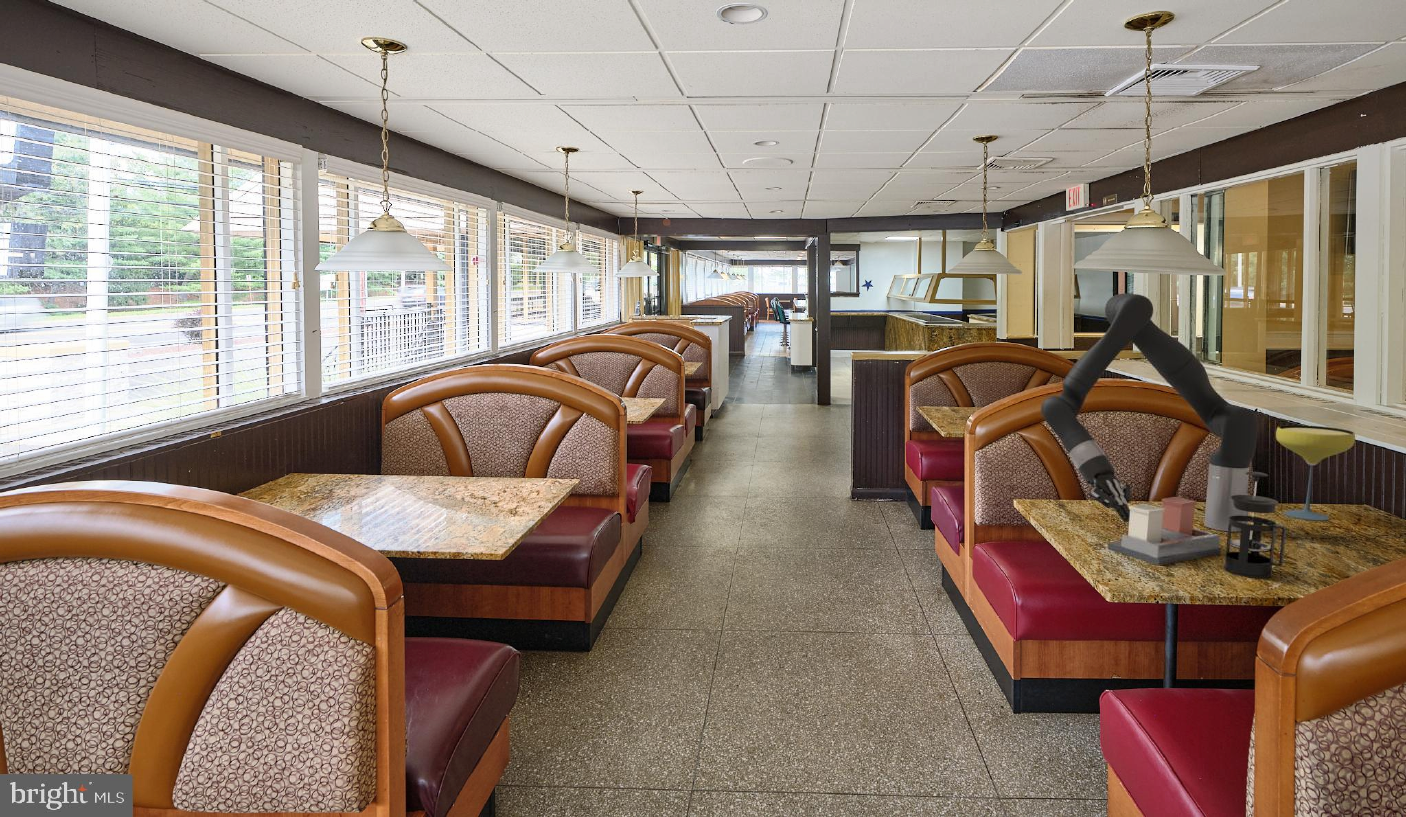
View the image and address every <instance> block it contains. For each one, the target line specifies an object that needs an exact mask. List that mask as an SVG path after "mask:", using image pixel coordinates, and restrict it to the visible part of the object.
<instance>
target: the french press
mask: <svg viewBox="0 0 1406 817" xmlns="http://www.w3.org/2000/svg"><path fill="white" fill-rule="evenodd" d="M1246 474H1247V475H1249V476H1251V477H1253V482H1254V489H1253V495H1252V494H1251V495H1250V494H1249V495H1234V496H1231V499H1232V500H1233V503H1234V506H1235V508H1236V509H1238V510H1242V511H1247V512H1248V513H1251V515H1248V516H1242V515H1237V516H1231V517H1229V525H1228V531H1227V537H1226V538H1227V539H1226V547H1225V548H1226V551H1225V562H1224V565H1223V570H1224V571H1225V572H1227V573H1229V574H1232V575H1236V576H1240V577H1243V576H1245V577H1244V578H1250V579H1268V577H1270V576H1272V577H1273V572H1272V570H1273V566H1275V567H1281V566H1282V565H1283V563H1284V554H1285V544H1286V534H1287V527H1286V526H1285V525H1280V524H1277V522H1276V521H1273V519H1272V520H1271V519H1268V518H1265V517H1261V516H1254V515H1255V513H1256V514H1273V513H1275V512H1276V506H1277V505H1278V504H1279V501H1278V500H1276V499H1274V498H1269V497H1265V496H1258V495H1256V494H1257V488H1258V487H1257V486H1258V483H1259V480H1260V477H1261V478H1263V477H1265V478H1266V477H1268V476H1269V475H1268V474H1267V473H1264V472H1259V471H1249V472H1247V473H1246ZM1236 521H1247V524H1244V523H1240V522H1236ZM1249 523H1250V524H1249ZM1232 526H1233V527H1236V528H1240V529H1241V531H1240V536H1239V537H1240V538H1235V539H1231V538H1232V531H1231V528H1232ZM1277 529H1279V530H1281V541H1280V550H1279V551H1280V552H1279V560H1278V562H1277V561H1276V562H1275V561H1274V560H1273V559H1274V549H1275V540H1276V539H1275V538H1276V530H1277ZM1263 532H1266V533H1269V532H1271V542H1270V543H1271V544H1268V543H1266V542H1262V541H1261V540H1262V533H1263ZM1231 547H1232V548H1234V549H1237V550H1238V551H1230V549H1231ZM1269 552H1270V553H1269ZM1260 553H1269V557H1268V556H1265V555H1262V554H1260ZM1270 578H1271V577H1270Z"/></svg>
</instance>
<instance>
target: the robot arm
mask: <svg viewBox="0 0 1406 817" xmlns="http://www.w3.org/2000/svg"><path fill="white" fill-rule="evenodd" d="M1104 314H1105V317H1106V319H1107V321H1108V322H1109V324H1110V326H1109V327H1108V329H1107V331H1106V332H1105V334H1103V336H1102V337H1101V338H1100V339H1099V340H1098V341H1097V342H1096V343H1094V344H1093V346H1091V347H1090V348H1089V349H1088V350H1087V351H1086V352H1084V354H1082V356H1081V357H1080V358H1079V359H1078V360H1077V361H1076V362H1075V363H1074V365H1073V366H1072V368H1071V369H1070V371H1069V372H1068V373H1067V375H1066V376H1065V378H1064V379H1063V381H1062V391H1061V393H1060V394H1059V396H1056V395H1053V396H1049V397H1046V398H1045V399H1044V400H1043V401H1042V403H1041V405H1040V406H1041V407H1040V412H1041V416H1042V418H1043V419H1044V421H1045V422H1046V423H1047V425H1048V426H1049V427H1050V428H1051V430H1052V431H1053V432H1054V433H1055V435H1056V436H1057V437H1058V439H1059V440H1060V441H1061V444H1062V446H1063V447H1064V448H1065V450H1066V452H1067V453H1068V455H1069V457H1070V459H1071V461H1072V463H1073V465H1074V466H1075V467H1076V469H1077V471H1078V473H1079V474H1080V476H1081V477H1082V478H1083V480H1084V482H1085V483H1086V485H1089V486H1090V487H1091V488H1092V489H1091V491H1090V492H1089V493H1088V496H1090V497H1091V498H1093V499H1094V500H1095V501H1096V502H1098V503H1100V505H1102V506H1104V507H1105V508H1107V509H1112V510H1114V511H1116V513H1117V514H1118V516H1119V517H1120V519H1121V520H1122V521H1123V522H1124V523H1129V519H1130V509H1129V505H1128V504H1129V503H1131V501H1132V492H1131V490H1132V489H1131V485H1130V484H1129V483H1126V484H1123V483H1122V482H1120V480H1119V478H1118V477H1116V476H1115V471H1116V470H1115V467H1114V466H1113V464H1112V463H1111V461H1110V460H1109V459H1108V457H1107V456H1106V454H1105V453H1104V451H1103V449H1102V448H1101V446H1099V445H1098V443H1097V442H1096V441H1095V440H1094V439H1093V437H1092V435H1091V433H1090V432H1089V431H1088V430H1087V428H1086V427H1085V426H1084V425H1083V424H1082V423H1081V422H1080V421H1079V419H1078V418H1077V416H1078V415H1079V413H1080V411H1081V409H1082V407H1083V405H1084V403H1085V400H1086V398H1087V396H1088V395H1089V393H1090V392H1091V390H1092V389H1093V388H1094V386H1095V384H1096V383H1097V382H1098V380H1100V378H1101V376H1102V375H1103V374H1104V372H1105V371H1106V370H1107V369H1108V367H1109V366H1110V365H1111V363H1112V362H1113V361H1114V359H1115V358H1117V356H1119V355H1120V354H1121V351H1123V350H1124V348H1125V347H1127V345H1128V344H1129V343H1130V342H1131V343H1132V344H1133V345H1134V346H1135V347H1136V348H1137V349H1138V350H1139V351H1140V353H1141V354H1142V355H1143V357H1144V358H1145V359H1146V360H1147V361H1148V363H1150V365H1151V366H1152V367H1153V368H1154V369H1155V370H1156V372H1158V374H1159V375H1160V376H1161V377H1162V378H1163V379H1164V380H1165V381H1166V383H1167V384H1168V385H1169V386H1171V387H1172V388H1173V390H1175V391H1176V393H1178V395H1180V397H1181V398H1182V399H1184V401H1186V402H1187V403H1188V404H1189V405H1190V407H1191V408H1192V409H1193V410H1194V412H1195V413H1196V414H1197V415H1198V417H1199V418H1200V420H1201V421H1202V423H1203V424H1204V425H1205V427H1207V429H1208V431H1210V433H1211V434H1213V435H1214V436H1216V437H1218V438H1221V441H1220V445H1219V446H1220V447H1219V449H1218V450H1216V451H1213V452H1211V453H1210V455H1209V464H1208V478H1207V486H1206V487H1207V488H1206V501H1205V512H1204V513H1205V514H1204V523H1203V525H1204V526H1205V527H1207V528H1209V529H1212V530H1217V531H1224V532H1228V525H1229V517H1231V516H1237V515H1242V516H1249V512H1247V511H1242V510H1238V509H1236V508H1235V506H1234V503H1233V500H1232V499H1231V496H1234V495H1250V494H1249V493H1248V488H1249V480H1250V479H1249V477H1250V475H1247V474H1246V473H1247V472H1250V466H1251V461H1252V460H1253V458H1254V456H1255V452H1256V447H1257V441H1258V435H1259V434H1258V433H1259V421H1258V416H1257V415H1256V413H1255V412H1254V411H1253V410H1252V409H1250V408H1246V407H1244V406H1240V405H1239V406H1238V405H1234V404H1231V403H1229V402H1228V401H1227V400H1226V399H1224V398H1223V396H1221V395H1220V394H1219V393H1218V392H1217V391H1216V390H1215V389H1214V388H1213V386H1212V384H1211V382H1210V379H1209V375H1208V372H1207V370H1206V368H1205V366H1204V365H1203V363H1202V362H1201V361H1200V360H1199V359H1198V358H1197V356H1196V355H1194V354H1193V352H1192V351H1191V350H1190V349H1188V347H1186V345H1184V344H1183V343H1181V342H1180V341H1179V340H1177V339H1176V338H1175V337H1173V336H1172V335H1170V334H1168V333H1167V332H1166V331H1164V330H1163V329H1161V328H1160V327H1159V326H1157V325H1156V324H1155V323H1154V322H1153V321H1152V317H1153V314H1154V306H1153V302H1152V301H1151V299H1149V298H1148V297H1146V296H1144V295H1142V294H1136V293H1135V294H1134V293H1119V294H1116V295H1113V296H1111V297H1110V298H1109V299H1108V300H1107V302H1106V304H1105V307H1104ZM1236 522H1240V523H1244V524H1248V522H1247V521H1236ZM1231 532H1232V533H1233V532H1235V533H1236V532H1241V529H1240V528H1236V527H1233V526H1232V528H1231Z"/></svg>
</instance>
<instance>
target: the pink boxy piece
mask: <svg viewBox="0 0 1406 817" xmlns="http://www.w3.org/2000/svg"><path fill="white" fill-rule="evenodd" d="M1161 503H1162V507H1161V508H1163V509H1165V510H1164V512H1163V519H1162V528H1165V529H1169V530H1172V531H1176V532H1180V533H1183V534H1187V535H1191V536H1192V533H1193V528H1194V519H1195V508H1196V507H1195V506H1196V505H1197V501H1195V500H1191V499H1188V498H1182V497H1180V496H1179V497H1178V496H1173V497H1172V496H1171V497H1165V498H1161Z"/></svg>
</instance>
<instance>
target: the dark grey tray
mask: <svg viewBox="0 0 1406 817" xmlns="http://www.w3.org/2000/svg"><path fill="white" fill-rule="evenodd" d="M1220 539H1221V535H1220V534H1216V533H1212V532H1208V531H1204V530H1201V529H1196V528H1194V527H1193V533H1192V536H1191V535H1187V534H1183V533H1180V532H1176V531H1172V530H1169V529H1165V528H1162V531H1161V543H1156V544H1155V543H1152V542H1148V541H1145V540H1142V539H1138V538H1135V537H1132V536H1128V535H1127V534H1121V540H1119V541H1112V542H1111V541H1110V542H1108V543H1107V550H1110V551H1114V552H1116V553H1119V554H1123V555H1126V556H1129V557H1132V558H1134V559H1138V560H1140V561H1144V562H1147V563H1150V564H1153V565H1156V566H1162V565H1167V564H1172V563H1178V562H1183V561H1189V560H1194V559H1195V560H1196V559H1201V558H1204V557H1210V556H1211V557H1212V556H1216V555H1221V554H1222V553H1221V552H1222V547H1220V542H1221V540H1220Z"/></svg>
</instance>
